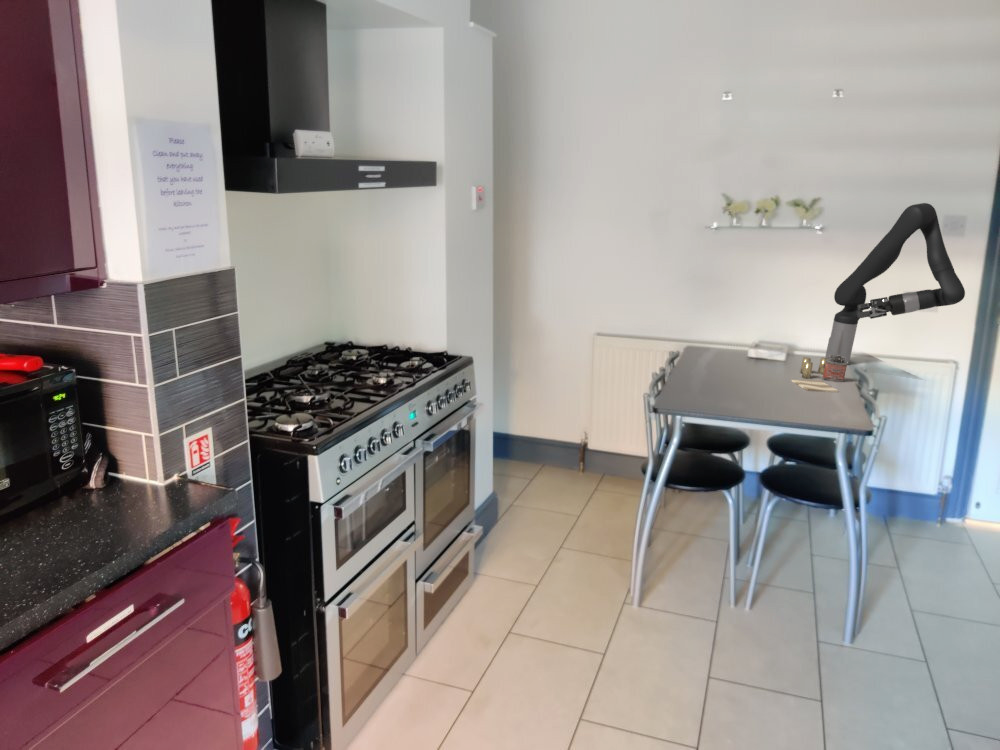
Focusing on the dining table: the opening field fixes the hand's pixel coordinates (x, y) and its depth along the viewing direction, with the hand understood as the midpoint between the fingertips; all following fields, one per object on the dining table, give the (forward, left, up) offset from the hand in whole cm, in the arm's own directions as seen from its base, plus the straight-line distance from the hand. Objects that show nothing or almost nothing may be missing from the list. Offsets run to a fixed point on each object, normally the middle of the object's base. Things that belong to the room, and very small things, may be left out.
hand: (857, 311), depth 311 cm
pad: (+16, -21, -26) cm, 37 cm away
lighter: (+6, -8, -26) cm, 28 cm away
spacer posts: (0, -13, -26) cm, 29 cm away
